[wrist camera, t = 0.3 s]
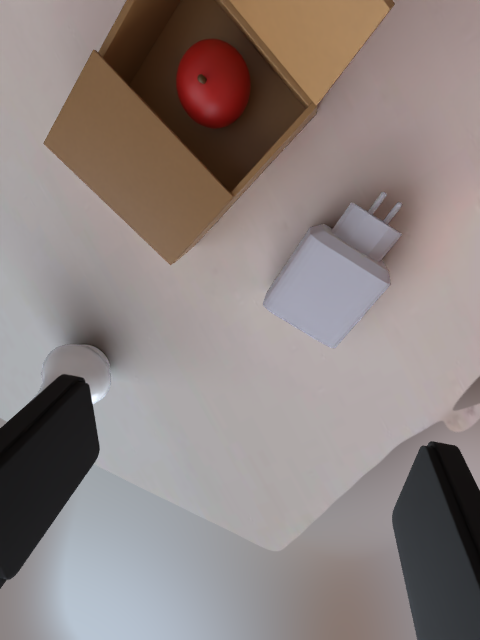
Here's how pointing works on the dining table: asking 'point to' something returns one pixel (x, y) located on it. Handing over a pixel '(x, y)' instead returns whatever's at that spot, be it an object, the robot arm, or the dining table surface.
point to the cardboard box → (173, 122)
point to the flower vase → (78, 368)
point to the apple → (213, 83)
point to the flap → (314, 35)
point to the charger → (335, 274)
